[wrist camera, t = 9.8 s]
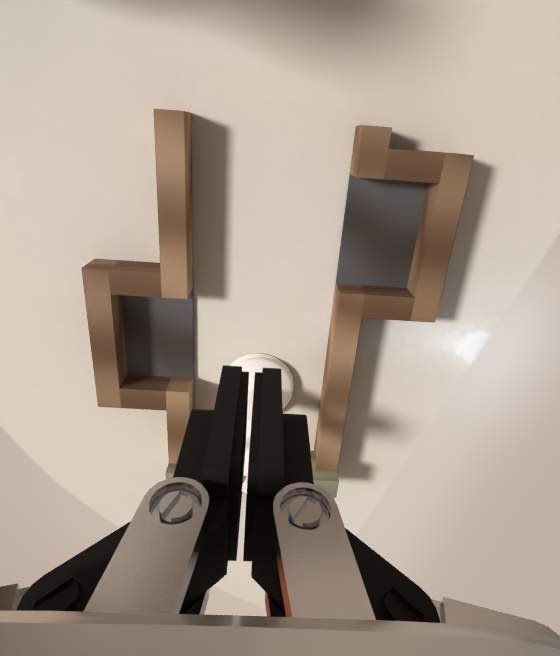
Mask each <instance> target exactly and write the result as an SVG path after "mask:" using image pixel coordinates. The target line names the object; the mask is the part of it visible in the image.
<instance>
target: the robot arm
mask: <svg viewBox="0 0 560 656" xmlns="http://www.w3.org/2000/svg"><path fill="white" fill-rule="evenodd" d="M248 385H249V372H243V371H242V366H224V365H223V368H222V373H221V378H220V383H219V388H218V393H217V398H216V403H215V408H214V410H196V409H192V411H191V413H190V417H189V420H188V424H187V428H186V431H185V435H184V439H183V442H182V446H181V450H180V453H179V457H178V461H177V464H176V468H175V472H174V475H173V478H170V479H166V480H164V481H162V482H159V483H157V484H156V485H155V486H153V487H152V488H151V489H149V491H148V492H147V493H146V495H145V496H144V498H143V500H142V502H141V503H140V505H139V507H138V509H137V511H136V513H135V515H134V517H133V519H132V520H131V522H129V523H127V524H126V525H124V526H123V527H121V528H119V529H118V530H116V531H115V532H113V533H111V534H110V535H108V536H107V537H105V538H103V539H102V540H100V541H99V542H97V543H95V544H94V545H92V546H90V547H89V548H87V549H86V550H84V551H83V552H81V553H79V554H78V555H76V556H74V557H73V558H71V559H70V560H68V561H66V562H65V563H63V564H61V565H60V566H58V567H57V568H55V569H53V570H52V571H50V572H49V573H47V574H45V575H44V576H43V577H41V578H40V579H39V580H37V581H36V582H35V583H34V584H33V585H32V586H31V587H27V588H22V589H20V588H19V585H18V584H13V585H7V586H2V587H0V656H560V636H559V635H558V634H557V633H555V632H554V631H553V630H551V629H550V628H549V627H547V626H545V625H543V624H540V623H538V622H536V621H533V620H529V619H525V618H521V617H517V616H514V615H509V614H506V613H502V612H498V611H494V610H490V609H487V608H483V607H479V606H476V605H472V604H468V603H464V602H460V601H456V600H453V599H449V598H445V597H443V599H442V602H440V601H436V600H432V599H430V597H429V596H428V595H427V594H426V593H425V592H424V591H423V590H422V589H421V588H420V587H419V586H418V585H416V584H415V583H414V582H412V581H411V580H410V579H409V578H408V577H406V576H405V575H404V574H402V573H401V572H400V571H399V570H397V569H396V568H395V567H394V566H392V565H391V564H390V563H389V562H387V561H386V560H385V559H384V558H382V557H381V556H380V555H379V554H377V553H376V552H375V551H373V550H372V549H371V548H370V547H368V546H367V545H366V544H365V543H363V542H362V541H361V540H360V539H358V538H357V537H356V536H355V535H353V534H352V533H351V532H350V531H348V530H347V529H346V528H345V527H344V524H343V521H342V518H341V515H340V512H339V509H338V506H337V504H336V502H335V500H334V498H333V497H332V496H331V495H330V494H329V493H328V492H327V491H326V490H325V489H323V488H321V487H320V486H318V485H314V481H313V472H312V462H311V453H310V443H309V434H308V425H307V417H306V415H298V414H283V412H282V376H281V369H280V368H263V370H262V372H255V379H254V393H253V407H252V421H251V435H250V449H249V463H248V479H247V499H246V518H245V538H244V558H243V561H252V573H251V576H252V578H253V579H254V580H255V581H256V582H257V583H258V584H259V585H260V586H261V587H262V588H263V589H264V590H265V604H266V612H267V617H264V616H232V615H204V613H205V609H206V605H207V602H208V598H209V590H210V587H212V586H213V585H214V584H216V583H217V582H218V581H219V580H220V579H221V578H223V577H224V575H226V573H227V563H228V560H230V561H236V558H237V546H238V534H239V522H240V510H241V498H242V486H243V474H244V462H245V448H246V428H247V406H248Z"/></svg>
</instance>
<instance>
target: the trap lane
mask: <svg viewBox="0 0 560 656" xmlns="http://www.w3.org/2000/svg"><path fill="white" fill-rule="evenodd" d="M154 131H155V154H156V177H157V200H158V223H159V246H160V263H150V262H135V261H120V260H104V259H94V260H92V261H91V262H90V263H88V264H87V265H85V266H84V267H82V276H83V285H84V293H85V301H86V309H87V318H88V326H89V334H90V343H91V351H92V359H93V368H94V376H95V384H96V393H97V401H98V407H113V408H132V409H151V410H167V431H168V454H169V464H168V468H167V471H166V479H170V478H173V475H174V472H175V468H176V464H177V461H178V457H179V453H180V450H181V446H182V442H183V439H184V435H185V431H186V428H187V424H188V420H189V417H190V413H191V411H192V409H194V324H193V239H192V154H191V113H189V112H185V111H175V110H163V109H154ZM391 131H392V128H391V127H378V126H365V125H360V126H356V130H355V138H354V146H353V153H352V161H351V169H350V177H349V184H348V192H347V200H346V208H345V215H344V223H343V231H342V238H341V246H340V254H339V262H338V269H337V277H336V285H335V293H334V300H333V308H332V316H331V324H330V331H329V339H328V347H327V355H326V362H325V370H324V378H323V386H322V393H321V401H320V409H319V416H318V424H317V432H316V440H315V447H314V452H311V451H310V453H311V462H312V472H313V481H314V485H318V486H320V487H321V488H323V489H325V490H326V491H327V492H328V493H329V494H330V495H331V496H332V497H333V498H336V495H337V489H338V483H339V480H338V474H337V468H338V462H339V455H340V449H341V443H342V437H343V430H344V424H345V418H346V412H347V405H348V399H349V393H350V387H351V380H352V374H353V368H354V362H355V356H356V349H357V343H358V337H359V331H360V324H361V318H372V319H388V320H404V321H420V322H435V318H436V314H437V310H438V306H439V302H440V297H441V293H442V289H443V285H444V280H445V276H446V272H447V268H448V263H449V259H450V255H451V251H452V246H453V242H454V238H455V234H456V230H457V225H458V221H459V217H460V213H461V208H462V204H463V200H464V196H465V191H466V187H467V183H468V179H469V174H470V170H471V166H472V162H473V157H474V155H466V154H456V153H443V152H430V151H417V150H404V149H391V148H389V143H390V137H391ZM246 478H247V476H244V475H243V483H244V481H245V480H246ZM242 493H243V492H242Z"/></svg>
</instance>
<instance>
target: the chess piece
mask: <svg viewBox="0 0 560 656" xmlns="http://www.w3.org/2000/svg"><path fill="white" fill-rule="evenodd" d="M230 366H242V371H243V372H249V385H248V406H247V428H246V448H245V462H244V474H243V475H244V476H247V478H246V480H245V481H244V483H243V486H242V492H243V493H246V494H247V479H248V463H249V449H250V435H251V421H252V407H253V393H254V379H255V372H262V370H263V368H280V369H281V376H282V410H283V409H284V408H285V407H286V406H287V404H288V403H289V401H290V399H291V397H292V392H293V387H294V382H293V377H292V374H291V372H290V370H289V369H288V367H287V366H286V365H285V364H284V363H283V362H282V361H280V360H279V359H277V358H275V357H273V356H270V355H266V354H250V355H246V356H243V357H241V358H239V359H237V360H236V361H234V362H233V363H232V364H231V365H230Z"/></svg>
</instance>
